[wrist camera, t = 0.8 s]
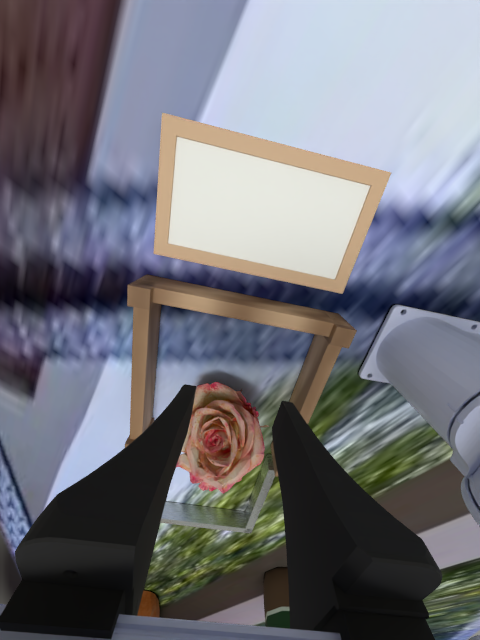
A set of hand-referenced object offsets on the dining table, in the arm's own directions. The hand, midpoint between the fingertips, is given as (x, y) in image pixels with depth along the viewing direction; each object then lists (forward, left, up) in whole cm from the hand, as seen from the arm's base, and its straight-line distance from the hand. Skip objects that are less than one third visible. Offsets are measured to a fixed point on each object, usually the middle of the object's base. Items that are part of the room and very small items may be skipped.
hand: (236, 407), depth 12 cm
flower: (0, +9, -10) cm, 14 cm away
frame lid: (0, -10, -10) cm, 14 cm away
